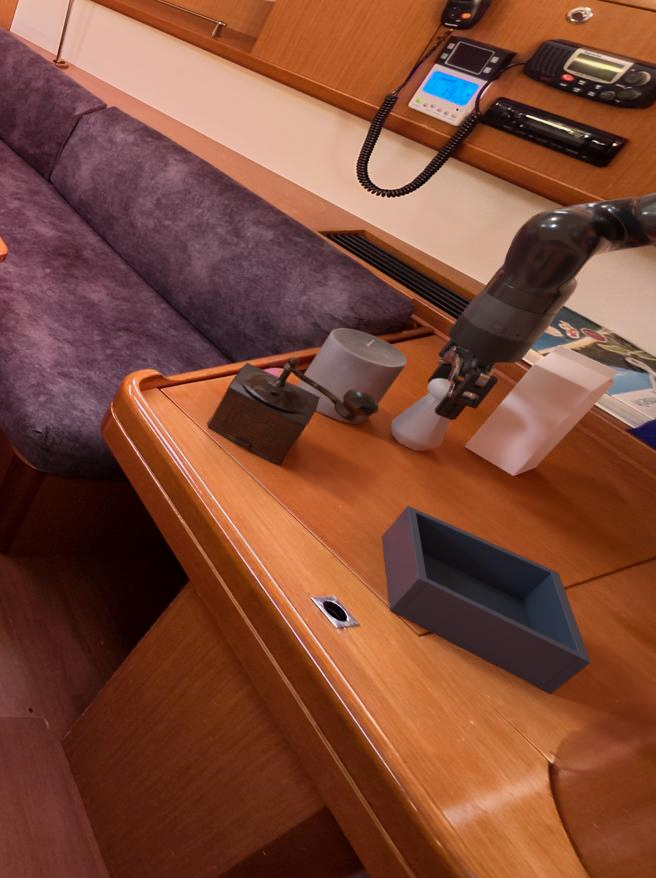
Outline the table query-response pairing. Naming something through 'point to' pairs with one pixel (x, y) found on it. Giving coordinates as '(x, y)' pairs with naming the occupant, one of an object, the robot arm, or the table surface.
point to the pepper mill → (277, 410)
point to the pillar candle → (353, 368)
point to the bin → (483, 599)
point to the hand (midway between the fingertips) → (439, 400)
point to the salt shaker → (423, 420)
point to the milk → (541, 410)
